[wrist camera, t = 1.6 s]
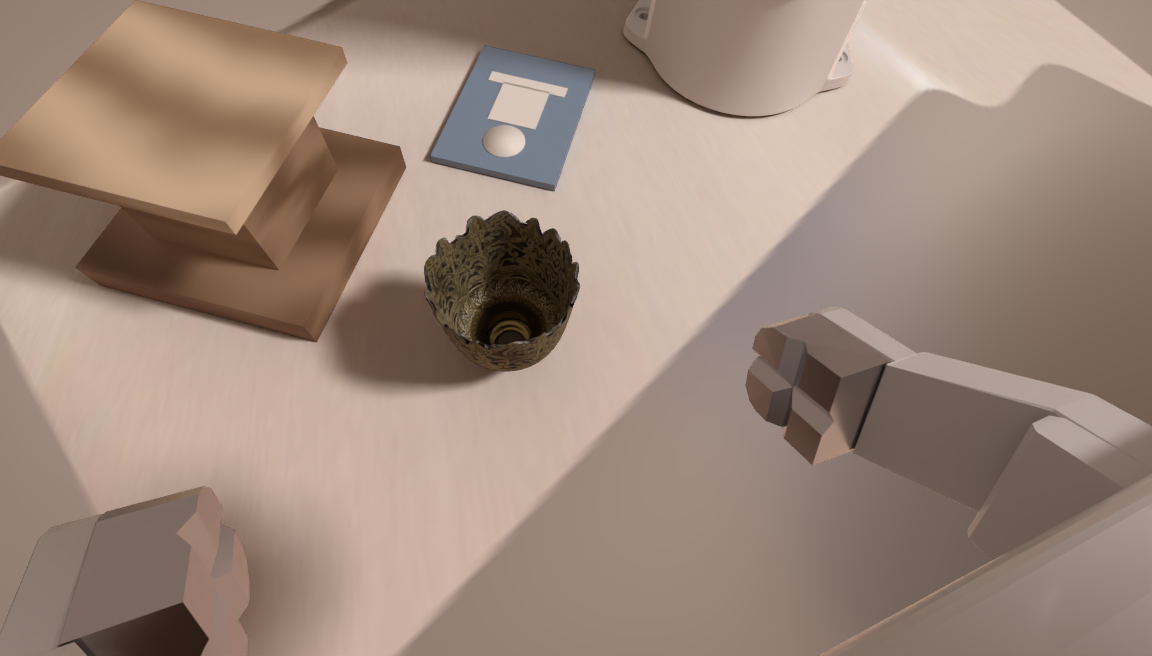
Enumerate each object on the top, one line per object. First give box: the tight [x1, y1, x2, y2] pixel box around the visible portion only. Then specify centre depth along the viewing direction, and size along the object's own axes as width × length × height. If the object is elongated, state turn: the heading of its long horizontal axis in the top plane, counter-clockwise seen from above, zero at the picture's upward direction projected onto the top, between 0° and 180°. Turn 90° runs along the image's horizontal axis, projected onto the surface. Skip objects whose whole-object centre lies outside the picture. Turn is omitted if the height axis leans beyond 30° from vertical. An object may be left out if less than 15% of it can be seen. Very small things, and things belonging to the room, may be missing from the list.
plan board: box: [430, 45, 595, 191], centre depth 42 cm, size 12×9×1 cm
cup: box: [424, 211, 580, 371], centre depth 31 cm, size 8×7×8 cm
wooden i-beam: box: [0, 0, 406, 342], centre depth 32 cm, size 14×14×10 cm
